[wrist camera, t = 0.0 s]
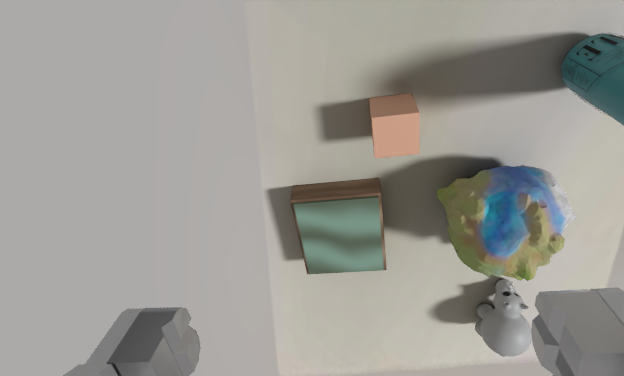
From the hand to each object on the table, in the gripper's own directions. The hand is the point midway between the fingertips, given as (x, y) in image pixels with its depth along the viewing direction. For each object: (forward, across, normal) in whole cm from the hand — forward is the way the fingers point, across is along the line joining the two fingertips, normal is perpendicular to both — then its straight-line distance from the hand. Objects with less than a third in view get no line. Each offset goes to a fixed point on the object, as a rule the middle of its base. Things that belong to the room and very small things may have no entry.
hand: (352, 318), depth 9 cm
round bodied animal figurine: (+44, -20, +43) cm, 64 cm away
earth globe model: (+41, -16, +22) cm, 49 cm away
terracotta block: (+40, -4, +8) cm, 41 cm away
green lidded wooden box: (+41, +4, +24) cm, 48 cm away
